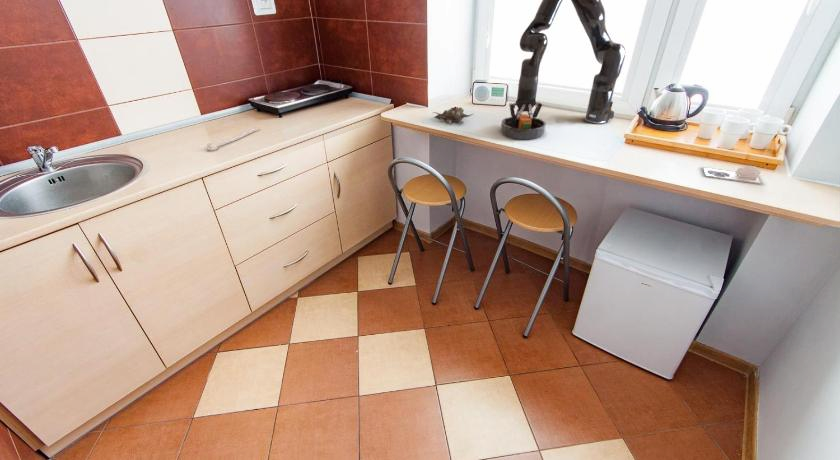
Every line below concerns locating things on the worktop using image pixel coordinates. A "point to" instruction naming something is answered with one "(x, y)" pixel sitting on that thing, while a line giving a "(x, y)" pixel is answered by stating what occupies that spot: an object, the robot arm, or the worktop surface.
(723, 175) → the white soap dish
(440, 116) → the figurine
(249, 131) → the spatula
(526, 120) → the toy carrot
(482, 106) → the worktop surface
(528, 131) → the pan
